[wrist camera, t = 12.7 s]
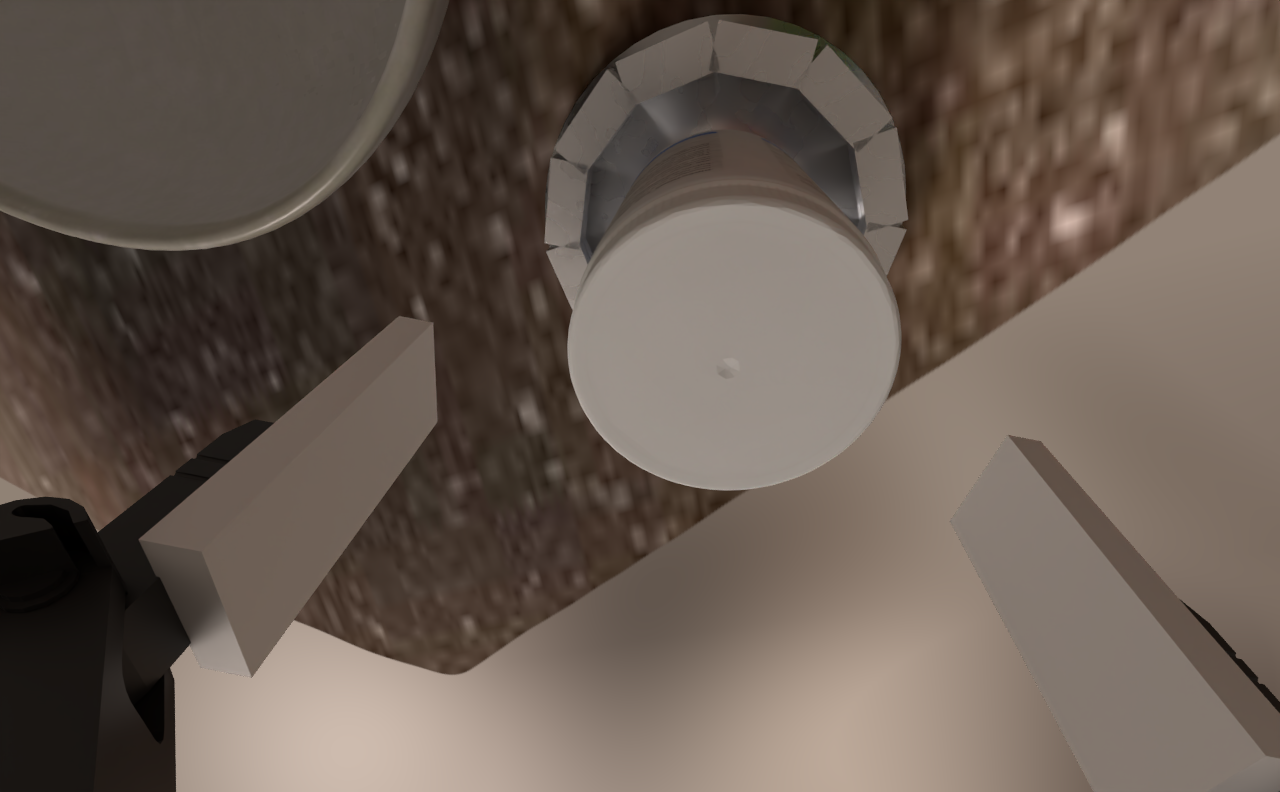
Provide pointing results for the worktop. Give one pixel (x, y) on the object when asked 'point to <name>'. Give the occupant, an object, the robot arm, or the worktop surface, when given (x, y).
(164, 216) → the decorative bowl
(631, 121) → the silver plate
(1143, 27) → the worktop surface
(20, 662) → the robot arm
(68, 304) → the worktop surface
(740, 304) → the supplement tub
